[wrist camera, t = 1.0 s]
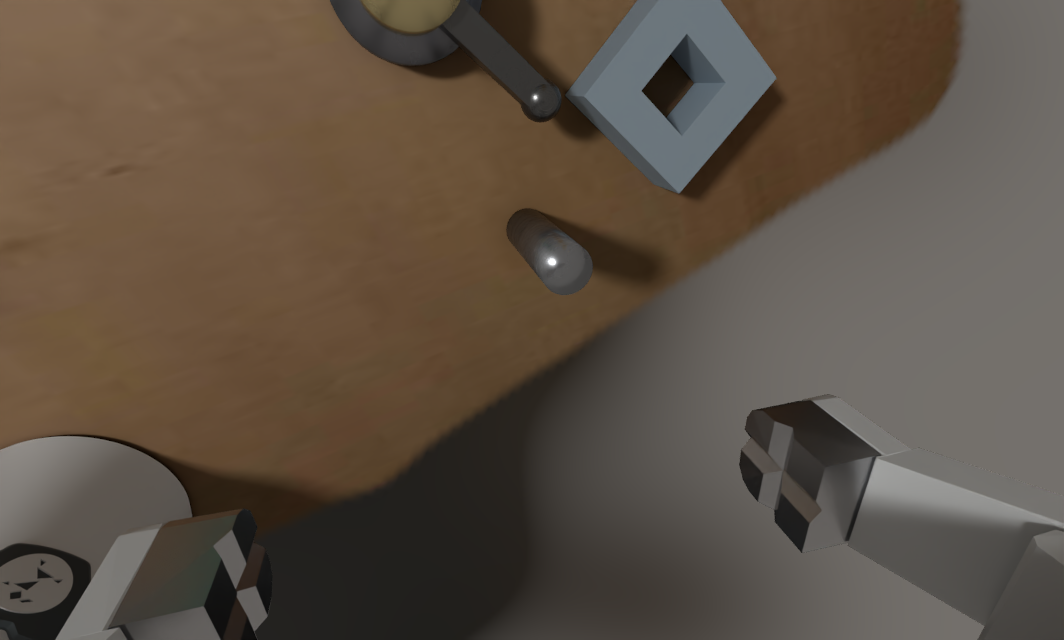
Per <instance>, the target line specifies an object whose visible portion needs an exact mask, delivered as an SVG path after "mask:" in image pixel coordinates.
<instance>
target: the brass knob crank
mask: <svg viewBox="0 0 1064 640" xmlns="http://www.w3.org/2000/svg"><path fill="white" fill-rule="evenodd" d="M359 1H360V3H361V5H362V6H363V8H364V9H365V11H366V12H367V13H368V14H369V16H370V17H371V18H372V19H373V20H374V21H375V22H377V23H378V24H379V25H380V26H382V27H383V28H385V29H387V30H388V31H391V32H393V33H395V34H399V35H402V36H422V35H425V34H428V33H430V32H432V31H434V30H436V29H437V28H440V29H441V30H442V31H443V32H444V33H445V34H446V35H447V36H448V37H449V38H450V39H451V40H452V41H454V42H455V43H456V44H457V45H458V46H459V47H460V48H461V49H462V50H463V51H464V52H465V53H466V54H467V55H468V56H470V57H471V58H472V59H473V60H474V61H475V62H476V63H477V64H478V65H479V66H480V67H481V68H482V69H483V70H484V71H486V72H487V73H488V74H489V75H490V76H491V77H492V78H493V79H494V80H495V81H496V82H497V83H498V84H499V85H500V86H502V87H503V88H504V89H505V90H506V91H507V92H508V93H509V94H510V95H511V96H512V97H513V98H514V99H515V100H516V101H518V102H519V103H520V104H521V108H522V110H523V112H524V114H525V115H526V116H527V117H528V118H529V119H531V120H532V121H535V122H546V121H549V120H551V119H552V118H553V117H555V115H556V114H557V113H558V111H559V109H560V106H561V94H560V91H559V89H558V87H557V85H556V84H555V83H554V82H553V81H551V80H549V79H547V78H543V77H542V76H541V75H540V74H539V73H538V72H537V71H536V70H535V69H534V68H533V67H532V66H531V65H530V64H529V63H528V62H527V61H526V60H525V59H524V58H523V57H522V56H521V55H520V54H519V53H518V52H517V51H516V50H515V49H514V48H513V47H512V46H511V45H510V44H509V43H508V42H507V41H506V40H505V39H504V38H503V37H502V36H501V35H500V34H499V33H498V32H497V31H496V30H495V29H494V28H493V27H492V26H491V25H490V24H489V23H488V22H487V21H486V20H485V19H484V18H483V17H482V16H481V15H480V14H479V13H478V12H477V11H476V10H475V9H474V8H473V7H471V6H470V5H469V4H468V3H467V2H466V1H465V0H359Z"/></svg>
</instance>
